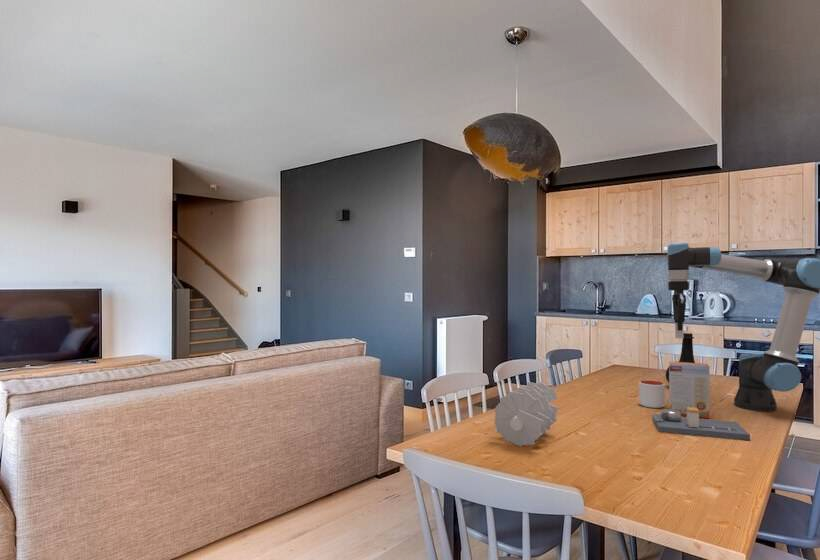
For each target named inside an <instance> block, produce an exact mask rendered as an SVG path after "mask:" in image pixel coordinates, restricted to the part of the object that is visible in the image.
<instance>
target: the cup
mask: <svg viewBox="0 0 820 560" xmlns="http://www.w3.org/2000/svg"><path fill="white" fill-rule="evenodd" d="M665 390H666V383H664V382H662V381H656V380H648V379H647V380H646V379H645V380H640V381H638V403H639V405H641V406H642V407H645V408H650V409H662V408H664V407H665V404H666V403H665V402H666V391H665Z"/></svg>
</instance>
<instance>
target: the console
mask: <svg viewBox="0 0 820 560" xmlns="http://www.w3.org/2000/svg"><path fill="white" fill-rule="evenodd" d="M651 415H652V416H651V419H652V420H653V421H652V420H651V421H652V422H653V424H654V426H655V428H656V427H657V428H656V429H658V430H657V431H658V432H659V433H664V432H667V434H675V433H678V434H677V435H685V434H687V436H696V435H698V436H699V437H707V436H709V437H708V438H717V437H718V438H719V439H728V440H729V439H730V440H741V441H751V434H750V433H749V432H748V431H747V430H745V429H744V427H742V426H741V425H740V424H739V423H738V422H737V421H728V420H718V419H717V420H716V419H708V418H699V428H698V427H689V426H688V425H687V417H685V416H681V421H678V422H675V421H668V420H665V419H660V420H656V419H654V414H651Z"/></svg>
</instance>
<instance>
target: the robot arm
mask: <svg viewBox="0 0 820 560" xmlns="http://www.w3.org/2000/svg"><path fill="white" fill-rule="evenodd" d="M666 256H667V273H666V276H667V277H668V278H667V279H668V280H669V281H668V282H667V285H668V287H667V288H668V289H667V290H668V291H673V294H672V298H671V300H672V309H673V310H672V311H673V320H674V331H675V333H674V335H675V339H682V340H683V339H684V335H683V333H684V322H685V321H686V319H685V318H686V302H687V299H686V295H685V293H684V291H690V282H689V280H690V270H689V269H690V268H697V269H701V270H708V271H715V272H720V273H726V274H732V275H733V274H734V275H736V276H737V275H738V276H744V277H751V278H756V279H759V280H760V281H761V282H767V283H770V284H775V285H779V286H783V287H782V289H783V290H784V292H785V297H784V300H783V302H782V307H781V309H780V313H779V317H778V320H777V323H776V327H775V329H774V330H775V331H774V334H773V337H772V341H771V344H770V346H769V349H768V350H766V351H764V352H763V353H741V354H739V358H738V359H739V360H738V376H739V377H738V389H737V392H736V394H735V397H734V399H733V405H734V406H736V407H738V408H741V409H744V410H745V409H746V410H749V411H757V412H775V411H777V410H778V404H777V402H776V399H775V396H774V393H773V391H777V392H784V393H785V392H790V391H792V390H795V389H796V388H797V387H798V386H799V385H800V382H801V380H802V373H801V371H800V369H799V368H798V365H799V364H800V363H799V362H800V361H799V359H798V358H797V356H796V355H797V353H798V349H799V345H800V342H801V339H802V335H803V332H804V329H805V325H806V322H807V319H808V315H809V312H810V309H811V305H812V302H813V299H814V298H815V297H817V296H819V295H820V259H819V258H813V257H812V258H811V257H805V258H794V259H793V258H791V259H790V258H789V259H770V258H766V259H764V260H760V259H756V258H755V259H754V258H748V257H741V256H735V255H728V254H723V253H722V252H721V250H720V248H718V247H715V246H713V247H712V246H707V247H706V246H705V247H704V246H703V247H700V246H699V247H691V246H689V243H687V242H673V243H669V244H668V245H667V255H666Z"/></svg>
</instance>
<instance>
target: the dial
mask: <svg viewBox="0 0 820 560" xmlns="http://www.w3.org/2000/svg"><path fill="white" fill-rule="evenodd" d="M653 415H654V419H656V420H660V419H665V420H668V421H675V422H678V421H681V417H682V416H681V412H680V411H678V410H673V409H669V408H665V409H663V410H662V412H654V413H653Z"/></svg>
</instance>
